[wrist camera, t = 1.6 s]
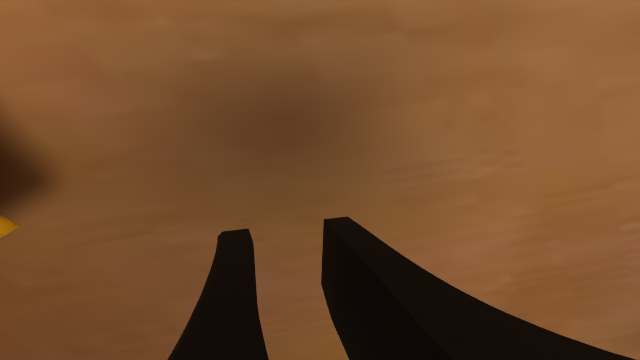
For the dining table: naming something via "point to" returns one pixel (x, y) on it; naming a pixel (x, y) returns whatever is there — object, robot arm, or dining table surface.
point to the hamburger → (6, 226)
